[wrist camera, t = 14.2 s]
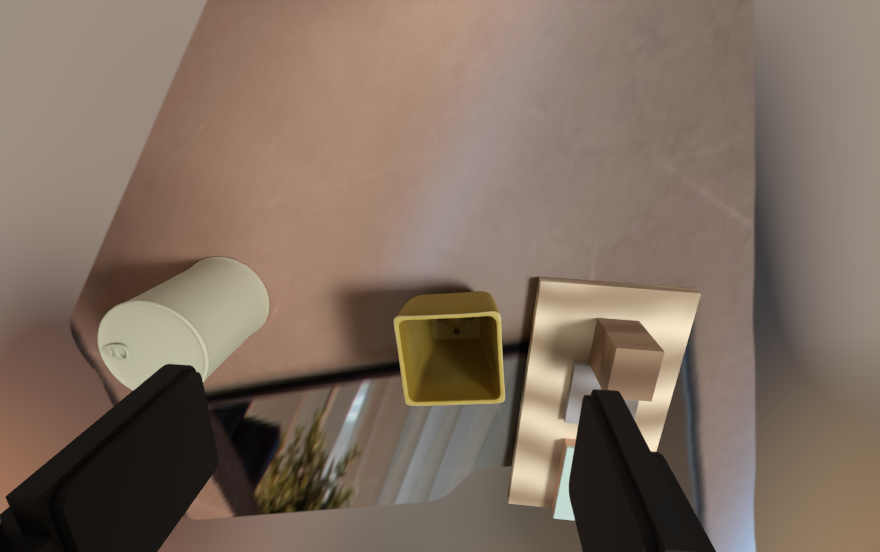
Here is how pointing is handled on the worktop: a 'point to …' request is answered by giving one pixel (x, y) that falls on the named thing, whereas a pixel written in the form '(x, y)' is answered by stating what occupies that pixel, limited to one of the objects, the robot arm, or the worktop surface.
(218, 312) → the can
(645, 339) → the block on grey plate
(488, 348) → the flower pot
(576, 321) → the board
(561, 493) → the tile
